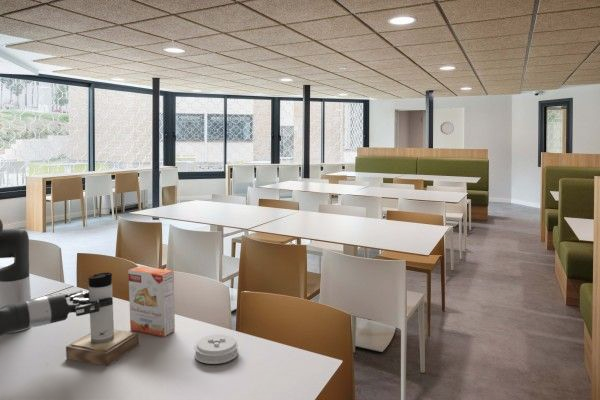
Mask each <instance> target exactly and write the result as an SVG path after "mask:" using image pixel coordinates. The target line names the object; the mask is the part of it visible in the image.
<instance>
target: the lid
mask: <svg viewBox="0 0 600 400" xmlns="http://www.w3.org/2000/svg"><path fill="white" fill-rule="evenodd" d="M238 347H239V342H238V340H237V339H236V338H234V337H233V336H231V335H227V334H211V335H207V336H204V337H202V338H200V339H199V340H198V341H197V342H195V344H194V351H195V352H194V358H195V359H196V360H197V361H198V362H199V363H200V362H201V363H205V364H209V365H211V364H213V365H215V364H217V365H218V364H224V363H228V362H230V361H232V360H234V359H235V358H237V356H238V355H239V349H238Z"/></svg>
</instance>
